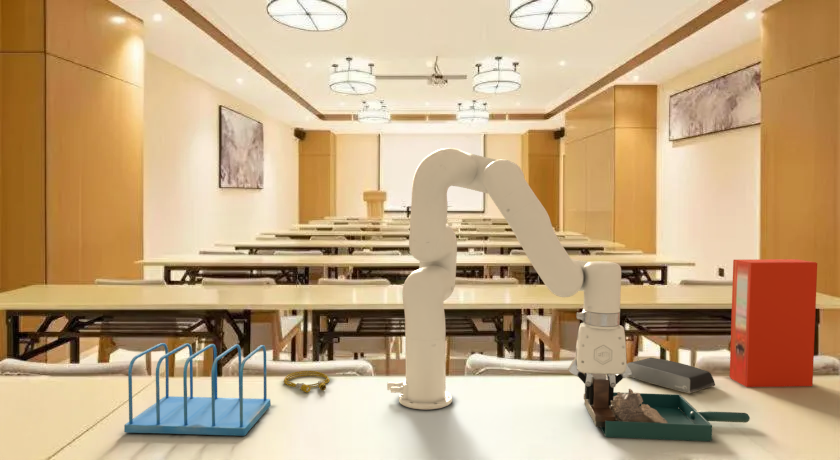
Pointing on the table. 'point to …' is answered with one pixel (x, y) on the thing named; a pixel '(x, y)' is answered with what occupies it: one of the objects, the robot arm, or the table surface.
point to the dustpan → (672, 420)
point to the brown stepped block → (600, 401)
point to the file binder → (773, 322)
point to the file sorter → (198, 403)
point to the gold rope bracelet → (303, 386)
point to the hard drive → (671, 375)
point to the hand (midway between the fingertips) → (598, 402)
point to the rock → (633, 409)
